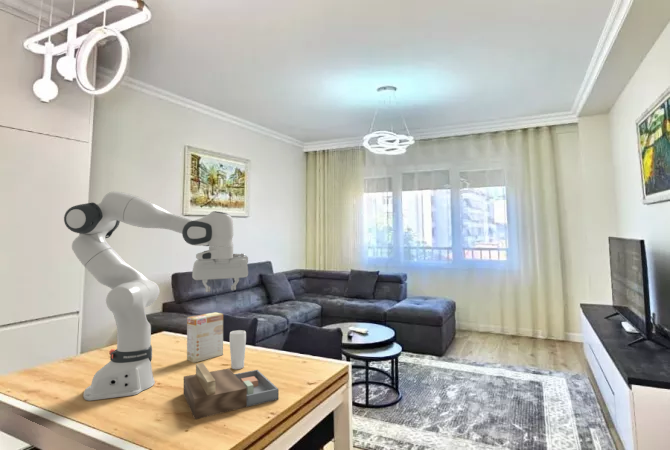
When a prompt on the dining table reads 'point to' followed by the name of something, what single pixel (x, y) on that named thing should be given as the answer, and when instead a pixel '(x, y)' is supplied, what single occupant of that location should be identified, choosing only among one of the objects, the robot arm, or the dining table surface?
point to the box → (260, 389)
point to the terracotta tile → (251, 380)
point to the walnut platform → (225, 398)
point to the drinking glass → (237, 348)
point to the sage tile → (248, 387)
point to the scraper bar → (205, 378)
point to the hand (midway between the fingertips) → (220, 290)
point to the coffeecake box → (204, 336)
